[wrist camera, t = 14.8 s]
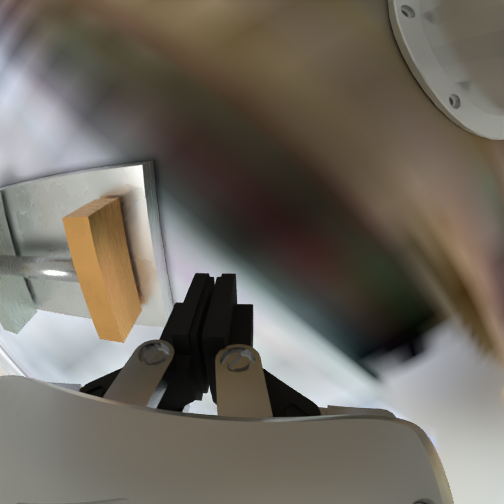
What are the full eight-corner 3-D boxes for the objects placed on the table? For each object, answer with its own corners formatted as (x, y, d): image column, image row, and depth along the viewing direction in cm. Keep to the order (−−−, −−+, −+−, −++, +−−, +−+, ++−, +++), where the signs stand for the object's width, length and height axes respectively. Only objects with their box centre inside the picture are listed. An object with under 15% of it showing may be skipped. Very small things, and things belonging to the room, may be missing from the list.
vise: (153, 160, 14) (112, 176, 10) (174, 313, 18) (154, 361, 14) (-50, 203, 15) (-78, 218, 11) (-26, 285, 20) (-49, 305, 16)
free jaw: (115, 168, 12) (82, 182, 10) (147, 328, 17) (131, 361, 14) (-15, 194, 13) (-42, 208, 10) (20, 307, 17) (1, 328, 15)
